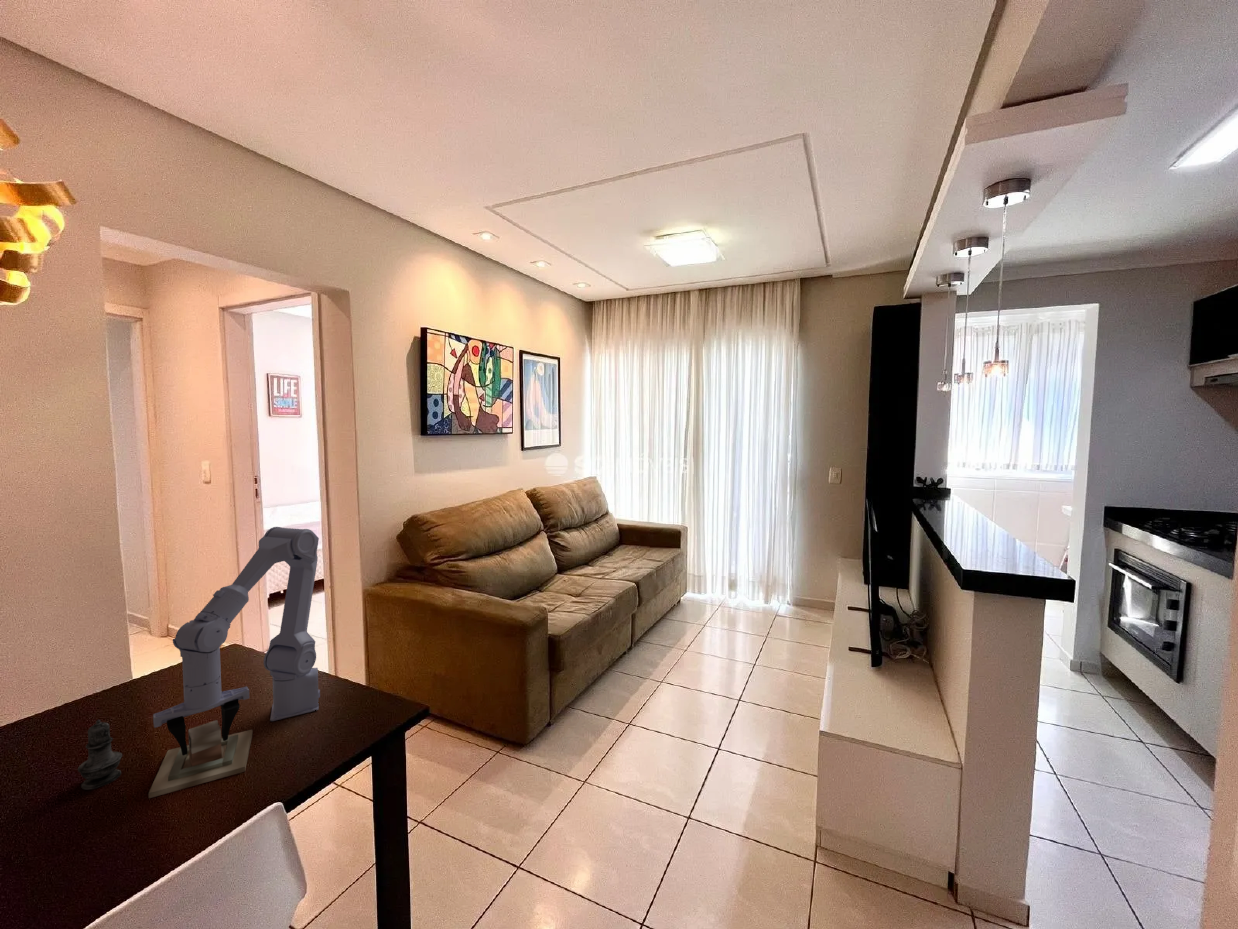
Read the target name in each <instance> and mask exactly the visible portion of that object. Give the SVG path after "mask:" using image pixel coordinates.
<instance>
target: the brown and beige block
mask: <svg viewBox="0 0 1238 929" xmlns="http://www.w3.org/2000/svg"><path fill="white" fill-rule="evenodd" d="M187 730H188V731H187V733H188V745H189V758H190V762H191V765H192V766H196V765H200V764H203V763H207V762H211V761H215V760H217V759H220V758H222V749H221V737H222V728H221V726H220V725H219V721H218V720H217V719H216V720H213V721H210V722H207V723H203V724H200V725H197V726H194V727H191V728H189V729H187Z"/></svg>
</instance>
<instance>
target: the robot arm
mask: <svg viewBox="0 0 1238 929" xmlns="http://www.w3.org/2000/svg"><path fill="white" fill-rule="evenodd" d="M319 540H320V538H319V537H318V536H317V535H316V533H315V532H314V531H313V530H312V529H310V528H291V527H281V526H273V527H271V528H269V529H268V530H267V531H266V532H265V533H264V535H263V536H262V537H261V538H260V539H259V540H258V549H257V550H255V552H254V554H253V556H252V557H251V558H250V559H249V561H248V562H247V563H246V565H244V568H243V569H242V571H240V573H239V574H238V576H237V577H236V578H235V580H234V581H233V582H232V583H231V584H229V585H226V586H225V585H224V586H223V587H221V588H220V589H219V590H216V591H215V592H214V593H213V594H212V596H213V597H212V598H211V599H210V600H209V601H208V603H206V604H205V606H204V607H203V608H202V609H201V611H200V612H198V613H197V614H196V616H195V617H194V619H191V620H189V622H188V621H187V622H185V623H183V625H181V626H180V627H179V628H178V629H177V631H176V634H175V638H173V639H172V644H173V646H174V647H175V648H176V649H177V650H179V652H180V655H179V657H180V658H181V659H182V660H181V663H182V682H183V683H182V684H183V686H182V687H183V702H181V703H178V704H177V705H174V706H172V707H169V708H167V709H164V710H162V711H158V712H155V713H153V714H152V719H153V720H152V721H153V723H152V724H153V728H158V727H162V726H163V725H164V724H166V726H167V730H168V731H169V733H171V735H172V736H173V737H174V738H175V740H176V742H177V743H178V745H179V747H181V752H182V755H186V754H187V739H186V735H187V734H186V733H187V732H186V728H187V726H186V720H185V718H186V717H189V716H192V715H195V714H200V713H204V712H207V711H210V710H212V709H215V708H218V707H220V710H221V737H222V738H223V741H226V740H228V735H230V730H231V726H232V724H233V722H234V719H235V718H236V715H237V714H238V712H239V711H240V702H239V701H240V700H242V701H245V700H248V699H250V689H249V687H248V686H243V687H240V688H233V689H227V690H224V691H222V676H221V674H222V673H221V671H222V669H221V646H222V645H223V644H224V643H225V642H226V640H227V638H228V633H229V629H230V628H231V625H232V624H231V623H232V622H233V621H234V619H235V618H236V617H237V616H238V614H240V612H241V611H242V610H243V608H244V607H245V606H246V605H247V603H248V602H249V600H250V599H249V593H250V591H251V590H252V589H253V588H254V587H255V585H256V584H258V582H259V581H260V580H261V579H262V578H263V577H264V576H265V575H266V574H267V573H268V571H270V569H271V568H272V567H273V566H274V565H275V564H277V563H281V562H285V563H286V564H287V565H288V566H289V573H288V580H287V585H286V591H285V598H284V599H285V600H284V603H283V604H284V606H283V611H282V616H281V624H280V631H279V633H278V634H277V635H275V637H273V638H271V640H270V641H269V645H268V649H267V651H266V653H265V654H264V657H263V667H264V668H265V669H266V671H269V675H270V676H271V677H272V678H271V679H272V701H273V702H272V705H271V711H270V712H271V713H270V719H269V721H270V722H275V721H278V720H282V719H283V720H284V719H287V718H291V717H295V716H299V715H305V714H308V713H311V712H316V711H318V710H319V707H320V706H319V705H320V704H319V703H318V702H319V698H321V689H319V673H318V672H319V671H318V670H319V668H318V667H314V665H315V663H316V661H317V653H316V652H317V651H316V641H315V639H314V638H313V637H312V636H311V635H310V633H309V632H308V625H309V619H310V612H311V606H312V600H313V592H314V586H315V580H316V574H317V572H316V571H317V567H318V566H317V565H318V552H317V551H318V548H319V547H318V546H319ZM315 710H316V711H315Z"/></svg>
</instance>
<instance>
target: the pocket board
mask: <svg viewBox="0 0 1238 929" xmlns="http://www.w3.org/2000/svg"><path fill="white" fill-rule="evenodd" d="M253 732H254V730H253V729H249V730H245V731H241V732H235V733H231V734H229V735H228V740H226V741H223V738H222V736H221V749H222V758H220V759H217V760H215V761H211V762H207V763H203V764H200V765H196V766H192V765H191V762H190V758H189V744H188V745H187V744H186V745H187V754H186V755H182V752H181V747H180V746H179V747H176V748H172V749H168V750H167V752H166V753H165V757H164V759H163V760H162V762H161V765H160V766H159V770H158V772H157V774H156V776H155V778H154V781H153V783H152V784H151V787H150V789H149V791H148V799H151V798H155V797H159V796H161V795H162V796H163V795H166V794H169V793H173V792H177V791H181V790H185V789H188V788H191V787H194V786H199V785H201V784H204V783H208V782H213V781H215V780H216V781H217V780H220V779H223V778H227V777H230V776H233V775H238V774H241V773H244V772H246V769H247V763H248V759H249V753H250V748H251V743H252V740H253V734H254V733H253Z"/></svg>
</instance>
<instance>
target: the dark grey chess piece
mask: <svg viewBox="0 0 1238 929" xmlns="http://www.w3.org/2000/svg"><path fill="white" fill-rule="evenodd" d="M110 729H111V728H110V724H109V723H108V722H105V721H103V722H102V720H101V719H99V718H98V719H97V720H96V721H95V724H93V725H91V726H89V728H88V730H87V738H88V739H87V740H88V742H87V743H86V745H85V749H87V751H88V753H87V755H88V757H87V760H85V761H84V762H82V763H81V764H80V765H79V766H78V768H77V771H78V773H80V775H81V776H82V778H84V779H85V780H84V781H83V782H82V783H81V785H80V787H81V789H82V790H88V791H89V790H96V789H98V788H101V787H104V786H106V785H109V784H111V783H113V782H114V781H116V780H117V779H118V778H119V777H121V775H122V771H121V769H118V767H119V765H120V762H121V759H122V757H123V753H122V752H120V751H113V750H112V742H113V740H114V737H112V736H111V730H110Z"/></svg>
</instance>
